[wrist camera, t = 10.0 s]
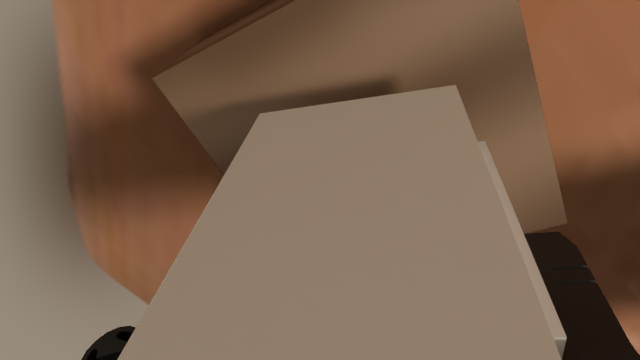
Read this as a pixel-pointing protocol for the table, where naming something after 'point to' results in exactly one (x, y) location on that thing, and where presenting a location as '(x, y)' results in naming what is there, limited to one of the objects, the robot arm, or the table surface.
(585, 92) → the table surface
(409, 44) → the walnut block
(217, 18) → the table surface
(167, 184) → the table surface
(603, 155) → the table surface
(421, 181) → the cream block
